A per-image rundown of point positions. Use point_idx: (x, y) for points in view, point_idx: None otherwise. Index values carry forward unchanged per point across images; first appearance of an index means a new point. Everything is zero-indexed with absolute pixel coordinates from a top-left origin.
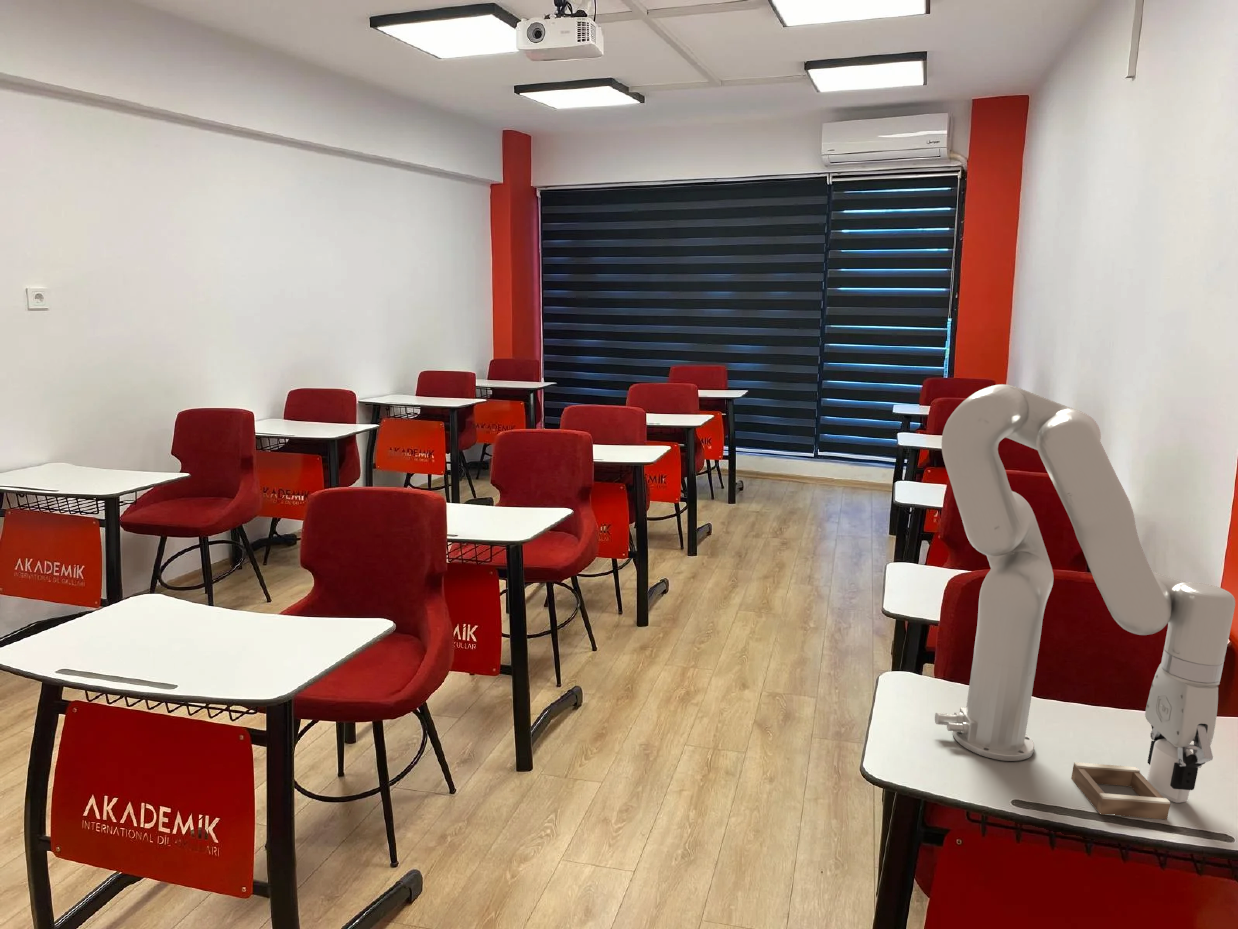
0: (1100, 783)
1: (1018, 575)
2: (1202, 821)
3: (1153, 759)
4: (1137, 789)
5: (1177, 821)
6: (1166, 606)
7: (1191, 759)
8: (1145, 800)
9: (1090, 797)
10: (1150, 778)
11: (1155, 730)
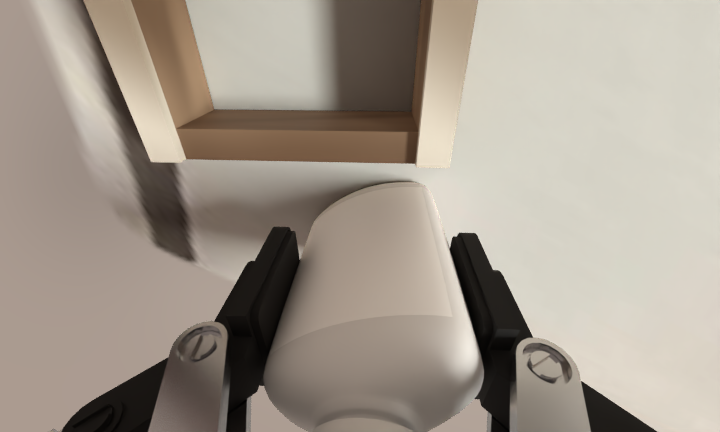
0: None
1: None
2: (237, 238)
3: (420, 253)
4: (358, 116)
5: (204, 166)
6: None
7: (81, 417)
8: (99, 35)
9: None
10: (407, 198)
11: (549, 425)
